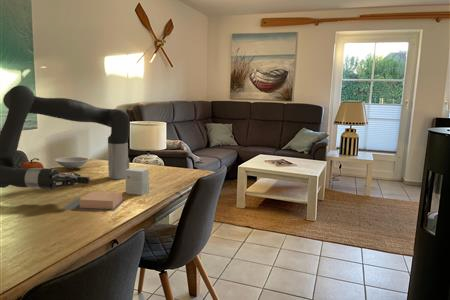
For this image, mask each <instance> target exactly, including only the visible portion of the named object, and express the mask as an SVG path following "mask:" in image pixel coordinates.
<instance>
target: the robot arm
mask: <svg viewBox="0 0 450 300" xmlns="http://www.w3.org/2000/svg"><path fill="white" fill-rule="evenodd" d="M2 102H3V105H4V106H5V107H6V109H8V111H7V115H6V118H5V121H4V123H3V125H2V128H1V129H0V188H1V189H3V188H5V189H6V188H7V187H9V186H12V187H16V188H29V189H35V190H36V189H37V190H38V189H39V190H55V189H56V188H59V187H60V188H61V187H70V186H74V185H79V184H82V185H86V184H87V185H88V184H89V183H90V182H91V179H90V178H91V177H90V176H81V174H79V173H76V172H70V173H68V172H67V173H66V172H62V173H60V172H59V170H58V169H56V168H49V167H48V168H33V169H30V168H21V167H20V168H17V167H16V160H15V157H16V155H17V151H18V148H19V144H20V143H19V142H20V138H21V136H22V132H23V129H24V125H25V123H26V119H27V116H29V114H33V115H34V114H35V115H42V116H47V117H50V118H51V117H52V118H56V119H60V120H66V121H72V122H78V123H94V124H99V125H101V126H102V125H103V126H106V127H109V128H110V135H108V137H107V155H108V156H107V157H108V158H107V161H108V162H107V164H108V166H107V167H108V172H107V173H108V179H111V180H126V179H125V170H126V169H129V168H130V158H129V149H128V147H129V143H128V142H129V138H130V130H131V129H130V123H131V122H130V121H131V120H130V115H129V114H128V112H127V111H125V110H123V109H118V108H117V109H116V108H104V107H99V106H98V107H96V106H94V105H92V104H89V103H87V102H84V101H82V100H81V101H80V100H76V99H72V98H68V97H67V98H64V97H41V96H37V95H36V96H35V94H34V92H33V90H32V89H31V88H30V87H29V86H26V85H24V84H23V85H22V84H21V85H20V84H19V85H15V86H13V87H11V88H10V89H9V90H8V91H7V92H6V93H5V94H4V95H3V98H2Z"/></svg>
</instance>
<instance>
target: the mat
mask: <svg viewBox="0 0 450 300" xmlns="http://www.w3.org/2000/svg"><path fill="white" fill-rule="evenodd" d="M81 198H82V197H78V198H76V199H75V200H73V201H72V202H70V203H68V204H67V205H65V206H64V207H62V208H61V209H62V210H80V211H81V210H82V211H101V212H103V211H105V212H115V211H116V210H117V209H118V208H119V207H120V206H121V205H122V204H124V202H125V201H126V199H122V201H121V202H120V203H119V204H118V205H117V206H116V207H115V208H114V209H98V208H80V205H79V199H81Z"/></svg>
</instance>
